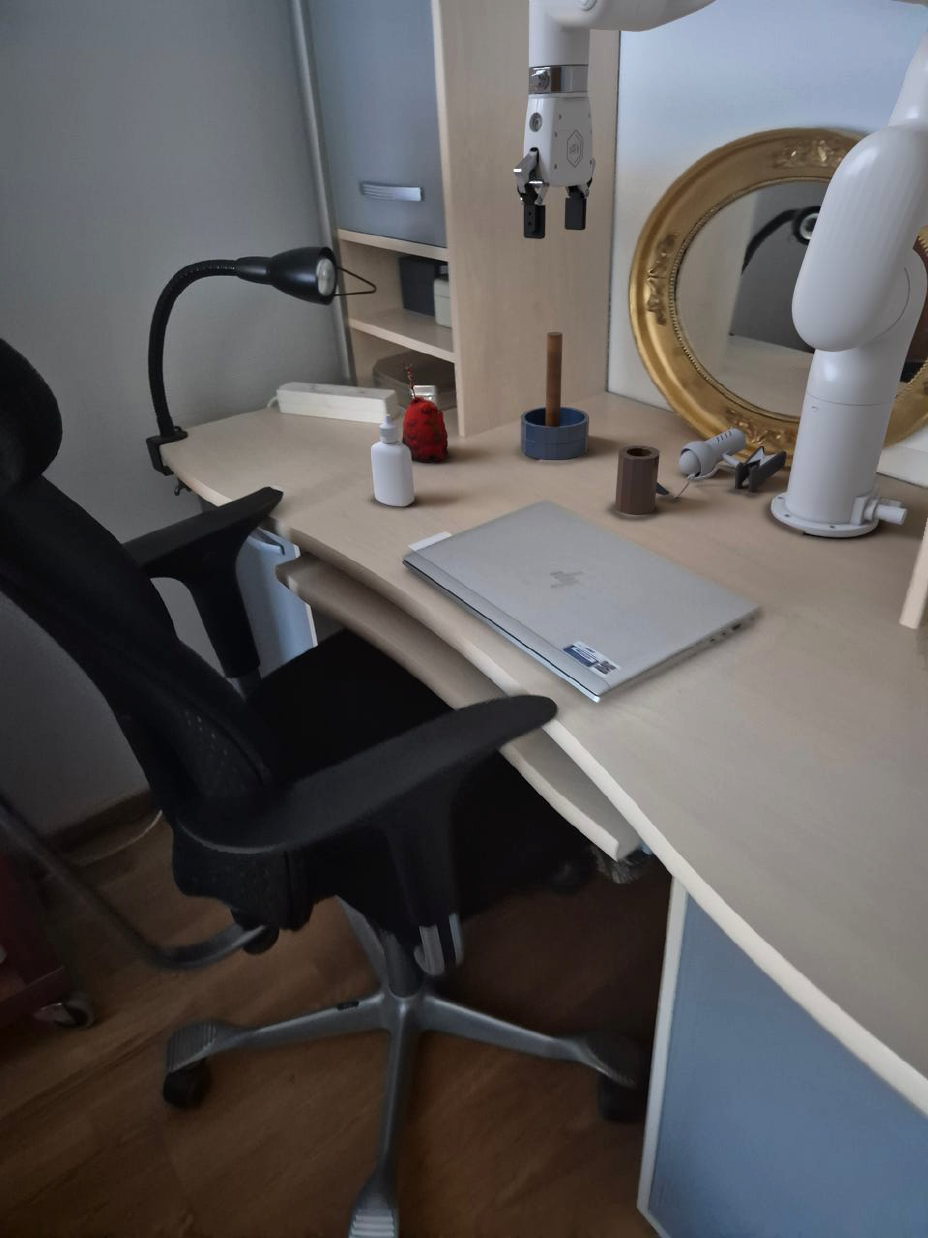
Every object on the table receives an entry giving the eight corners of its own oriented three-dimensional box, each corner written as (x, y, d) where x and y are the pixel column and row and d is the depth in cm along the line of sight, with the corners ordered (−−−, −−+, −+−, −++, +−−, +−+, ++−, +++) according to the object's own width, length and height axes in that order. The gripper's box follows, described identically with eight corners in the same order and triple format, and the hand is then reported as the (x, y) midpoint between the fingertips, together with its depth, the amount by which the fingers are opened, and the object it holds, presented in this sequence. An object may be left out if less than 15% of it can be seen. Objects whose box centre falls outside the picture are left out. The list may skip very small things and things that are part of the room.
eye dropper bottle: (401, 490, 114) (394, 406, 108) (417, 504, 110) (411, 417, 103) (372, 497, 112) (363, 412, 106) (388, 511, 108) (380, 423, 102)
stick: (562, 446, 125) (565, 332, 116) (554, 450, 123) (556, 335, 114) (550, 444, 126) (552, 330, 117) (542, 448, 125) (544, 334, 116)
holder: (660, 508, 106) (666, 450, 101) (641, 522, 102) (646, 462, 98) (627, 499, 108) (631, 442, 104) (607, 512, 105) (611, 453, 101)
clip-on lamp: (686, 533, 106) (791, 477, 110) (686, 493, 101) (795, 436, 106) (630, 495, 114) (730, 444, 118) (628, 456, 110) (731, 405, 114)
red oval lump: (455, 460, 123) (451, 360, 115) (411, 468, 121) (404, 367, 113) (438, 445, 129) (433, 349, 121) (396, 452, 127) (388, 355, 119)
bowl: (600, 448, 125) (602, 413, 122) (562, 468, 119) (563, 432, 116) (546, 435, 131) (546, 402, 128) (507, 454, 124) (506, 419, 121)
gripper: (542, 83, 95) (540, 243, 104) (619, 83, 106) (611, 227, 115) (492, 86, 99) (494, 240, 108) (571, 86, 110) (567, 225, 119)
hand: (555, 233), depth 111 cm, fingers open, 9 cm apart
